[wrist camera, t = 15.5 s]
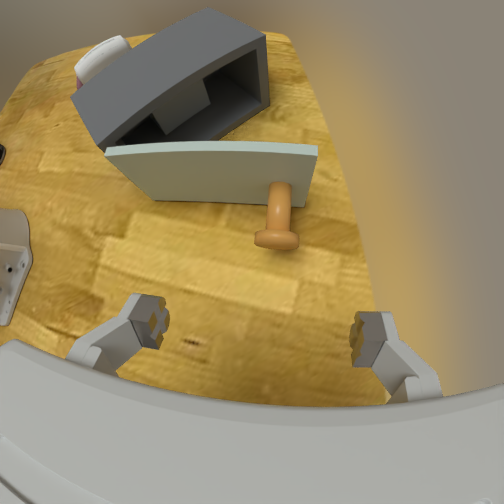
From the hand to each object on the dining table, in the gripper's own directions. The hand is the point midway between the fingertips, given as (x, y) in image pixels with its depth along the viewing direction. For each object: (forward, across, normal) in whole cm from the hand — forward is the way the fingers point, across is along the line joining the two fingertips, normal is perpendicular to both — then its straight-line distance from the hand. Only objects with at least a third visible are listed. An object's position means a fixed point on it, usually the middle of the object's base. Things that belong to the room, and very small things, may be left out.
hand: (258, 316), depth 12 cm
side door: (+22, -7, -8) cm, 25 cm away
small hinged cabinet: (+34, -13, +4) cm, 37 cm away
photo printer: (+40, -29, +10) cm, 51 cm away
